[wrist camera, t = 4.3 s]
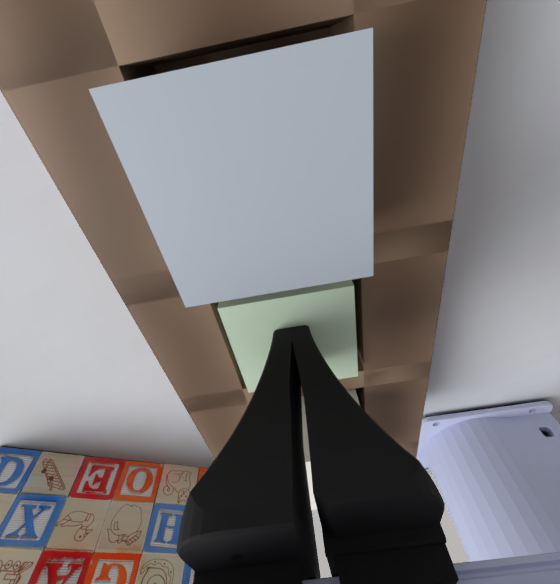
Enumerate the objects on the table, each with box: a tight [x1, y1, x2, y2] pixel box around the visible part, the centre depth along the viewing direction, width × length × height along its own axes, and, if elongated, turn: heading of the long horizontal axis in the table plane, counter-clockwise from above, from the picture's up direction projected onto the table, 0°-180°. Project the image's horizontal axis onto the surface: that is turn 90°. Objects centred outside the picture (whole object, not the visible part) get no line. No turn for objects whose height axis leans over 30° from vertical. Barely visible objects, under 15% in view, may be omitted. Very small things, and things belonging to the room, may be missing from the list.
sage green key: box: [217, 280, 358, 393], centre depth 14 cm, size 5×5×3 cm
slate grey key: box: [89, 28, 373, 307], centre depth 8 cm, size 5×5×3 cm
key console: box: [0, 0, 487, 459], centre depth 15 cm, size 12×24×4 cm, turn 10°
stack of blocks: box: [0, 447, 208, 584], centre depth 23 cm, size 21×6×12 cm, turn 71°
